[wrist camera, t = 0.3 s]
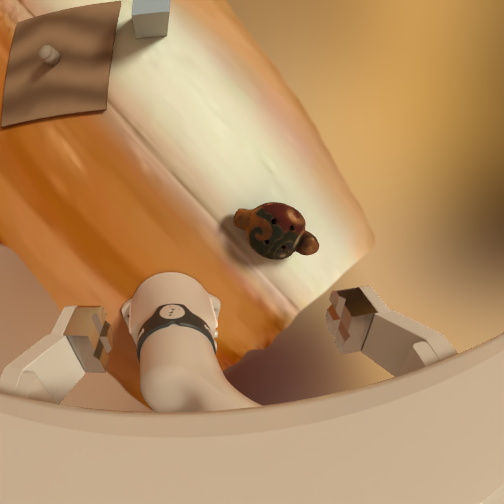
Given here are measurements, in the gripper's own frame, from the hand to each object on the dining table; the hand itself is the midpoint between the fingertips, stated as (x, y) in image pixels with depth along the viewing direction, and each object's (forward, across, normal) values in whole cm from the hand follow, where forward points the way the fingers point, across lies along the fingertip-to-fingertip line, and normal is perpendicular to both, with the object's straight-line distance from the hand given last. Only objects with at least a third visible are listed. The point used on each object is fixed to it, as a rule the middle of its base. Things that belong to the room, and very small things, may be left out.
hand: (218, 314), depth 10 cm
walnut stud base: (+38, -25, +19) cm, 49 cm away
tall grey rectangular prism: (+41, -9, +22) cm, 47 cm away
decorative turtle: (+40, +10, -14) cm, 44 cm away
